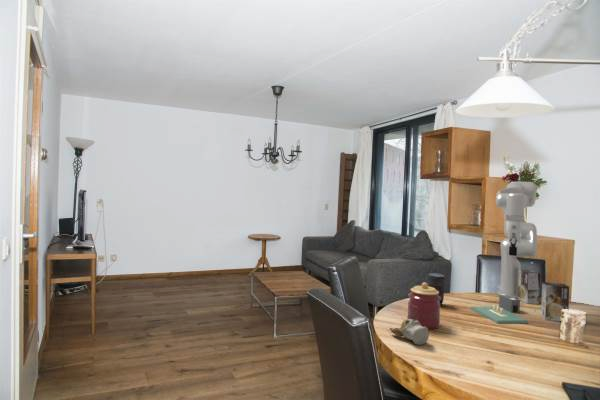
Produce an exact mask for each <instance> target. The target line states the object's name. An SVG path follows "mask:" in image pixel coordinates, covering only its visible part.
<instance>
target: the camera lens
mask: <svg viewBox="0 0 600 400" xmlns="http://www.w3.org/2000/svg"><path fill="white" fill-rule="evenodd" d="M445 279H446V278H445V275H444V274H441V273H435V272H429V273H428V274H427V279H426V281H427V282H426V283H427V284H428V286H429V287H433V288H435V289H436V290H437V291H438V292H439V294H438V296H440V297H441V300H440V301H439V304H440V306H441V307H442V306H443V303H444V297H445V295H444V294H445V293H444V291H445V281H446V280H445Z"/></svg>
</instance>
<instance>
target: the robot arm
mask: <svg viewBox="0 0 600 400" xmlns="http://www.w3.org/2000/svg"><path fill="white" fill-rule="evenodd" d="M537 192H538V191H537V185H536V184H535V183H534V182H533V181H512V182H509V183H508V184H507V185H506V187H505V188H504V189H500V190H498V191H497V192H496V196H495V205H496V206H497V208H500V209H501V210H502V211H503V215H504V222H503V225H504V226H503V233H504V236H505V237H507V238H505V239H502V240H501V242H500V244H499V245H500V254H501V255H500V256H501V259H500V261H501V264H500V284H499V285H497V288H498V290H497V291H496V294H497V295H498V296H499V295H509V296H511V297H513V298H516V299H518V285H519V270H522V265H521V262H520V261H519V259H517V258H519V257H520V258H527V259H528V258H534V257H536V256H537V254H538V253H537V252H538V234H537V233H538V231H537V230H538V229H537V227H536V225H535V224H534V223H533V222H524V219H525V216H524V215H525V209H526V208H529V207H530V208H531V207H533V206H534V205H535V203H536V200H537V199H536V198H537Z"/></svg>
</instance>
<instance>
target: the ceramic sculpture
mask: <svg viewBox="0 0 600 400" xmlns="http://www.w3.org/2000/svg"><path fill="white" fill-rule="evenodd" d="M389 330H390V331H391V332H392V333H393V334H394V335H396V336H398V337H403V338H404V339H407V340H410V341H412V342H413V343H414V345H417V346H418V345H419V346H423V345H424V344H426V343H427V342H428V340H429V338H430V336H429V335H430V333H429V329H427V328H426V327H422V326H421V325H420V323H419V321H418V320H417V319H415V318H414V317H412V318H411V319H407V318H406V319H404V320H402V323H401V325H400V327H395V328H392V327H389Z"/></svg>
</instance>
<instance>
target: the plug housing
mask: <svg viewBox="0 0 600 400" xmlns="http://www.w3.org/2000/svg"><path fill="white" fill-rule="evenodd" d="M498 296H499V297H498V306H499V307H500V308H503V309H504V310H506V311H509V312H511V313H513V312H515V313H517V314H518V313H519V314H520V309H521V300H519V299H518V298H513V297H511V296H509V295H498ZM513 314H514V313H513Z"/></svg>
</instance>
